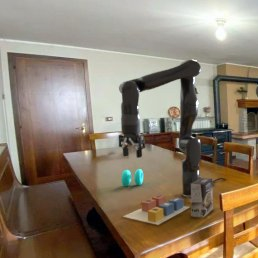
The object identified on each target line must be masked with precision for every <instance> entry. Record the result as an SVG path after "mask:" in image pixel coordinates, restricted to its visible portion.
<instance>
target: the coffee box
mask: <svg viewBox="0 0 258 258" xmlns="http://www.w3.org/2000/svg"><path fill="white" fill-rule="evenodd" d="M212 181H213V178H209V177H208V178H207V177H201V178H200V179H198V180H196V181H195V182H193V183H191V197H190V210H191V211H190V215H191V217H193V218H194V217H195V218H205V217H206V216H207V215H208V214H209V213H210V212H212V211H213V208H214V207H213V206H214V205H213V202H214V201H213V186H212Z"/></svg>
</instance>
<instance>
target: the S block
mask: <svg viewBox="0 0 258 258" xmlns="http://www.w3.org/2000/svg"><path fill="white" fill-rule="evenodd" d="M162 218H164V214H163V208H158V207H155V208H153V209H151V210H149V211H148V221H152V222H157V221H159V220H161V219H162Z"/></svg>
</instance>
